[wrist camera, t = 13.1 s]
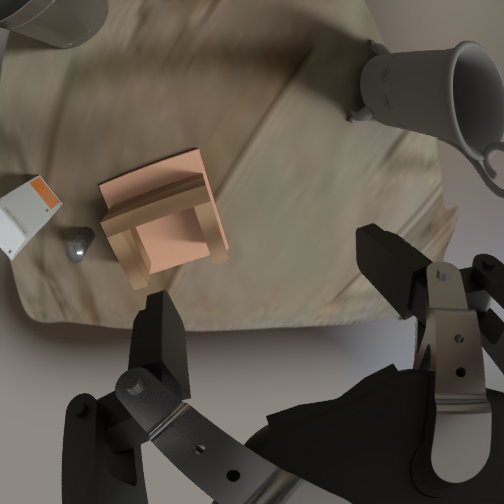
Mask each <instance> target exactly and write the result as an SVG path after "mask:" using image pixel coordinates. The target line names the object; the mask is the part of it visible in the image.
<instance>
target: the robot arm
mask: <svg viewBox="0 0 504 504" xmlns="http://www.w3.org/2000/svg"><path fill="white" fill-rule="evenodd" d="M107 13H108V4H107V0H0V28H4V29H7V30H10V31H14V32H17V33H20V34H23V35H25V36H28V37H31V38H34V39H37V40H39V41H42V42H45V43H47V44H50V45H52V46H55V47H58V48H62V49H67V48H72V47H76V46H78V45H81V44H82V43H84V42H86V41H87V40H89V39H90V38H91V37H92V36H94V35H95V33H96V32H97V31H98V30H99V29H100V28H101V26H102V25H103V23H104V21H105V19H106V16H107ZM356 259H357V264H358V267H359V270H360V271H361V273H362V274H363V275H364V276H365V277H366V278H367V279H368V280H369V281H370V282H371V283H372V285H373V286H374V287H375V288H376V289H377V290H378V291H379V292H380V293H381V294H382V295H383V297H384V298H385V299H386V300H387V301H388V302H389V303H390V304H391V305H392V307H393V308H394V309H395V310H396V311H397V312H398V313H399V314H400V316H401V317H402V318H403V319H404V320H406V319H408V318H410V317H412V316H413V315H414V316H415V317H416V318H417V319H416V324H415V328H416V329H415V354H414V364H413V369H406V370H400V371H398V370H397V369H396V367H395V366H394V364H391V365H389V366H387V367H386V368H383V369H381V370H379V371H377V372H375V373H373V374H371V375H369V376H367V377H365V378H364V379H363V380H361V381H360V382H359V383H358V384H356V385H355V386H354V387H352V388H351V389H350V390H349V391H347V392H346V393H344V394H343V395H342V396H340V397H339V398H337V399H334V400H328V401H322V402H316V403H309V404H302V405H298V406H295V407H292V408H289V409H286V410H283V411H280V412H277V413H274V414H271V415H268V416H266V418H267V421H268V425H267V426H265V427H263V428H262V429H260V430H259V431H258V432H256V433H255V434H254V435H253V436H252V437H251V438H249V440H248V441H247V442H246V443H245V444H244V445H243V444H241V443H240V442H238V441H237V440H235V439H234V438H232V437H231V436H230V435H228V434H227V433H225V432H224V431H222V430H221V429H220V428H218V427H217V426H216V425H215V424H213V423H212V422H211V421H209V420H208V419H207V418H205V417H204V416H203V415H202V414H200V413H199V412H198V411H197V410H195V409H194V408H193V407H192V406H190V405H189V404H187V403H184V402H182V400H185V399H190V398H191V394H190V385H189V374H188V364H187V352H186V339H185V329H184V325H183V322H182V320H181V317H180V315H179V314H178V312H177V310H176V308H175V306H174V304H173V302H172V300H171V298H170V296H169V294H168V293H167V291H166V290H163V291H160V292H157V293H153V294H150V295H148V296H147V301H146V309H144V310H141V311H139V313H138V315H137V316H136V318H135V320H134V323H133V330H132V331H133V333H132V338H131V339H132V341H131V346H130V355H129V365H128V371H126V372H124V373H123V374H122V375H121V376H120V378H119V379H118V381H117V383H116V386H115V391H113V392H112V393H109V394H108V395H106V396H104V397H102V398H100V399H98V400H96V399H95V398H94V397H93V396H92V395H90V394H87V393H83V394H79V395H77V396H76V397H74V398H73V399H72V400H71V402H70V403H69V405H68V407H67V410H66V417H65V427H64V436H63V452H62V504H148V499H147V493H146V487H145V480H144V472H143V464H142V455H141V444H143V443H145V442H147V441H149V440H151V441H152V443H153V444H154V445H155V446H156V447H157V448H158V449H159V450H160V451H161V452H162V453H163V454H164V455H165V456H166V457H167V458H168V459H169V460H170V461H171V462H172V463H173V464H174V465H175V466H176V467H177V468H178V469H179V470H180V471H181V472H182V473H183V474H184V475H186V476H187V477H188V478H189V479H190V480H191V481H192V482H193V483H195V484H196V485H197V486H198V487H199V488H200V489H201V490H203V491H204V492H205V493H206V494H207V495H209V496H210V497H211V498H212V499H214V501H213V502H212V504H504V393H503V392H500V391H496V390H492V389H488V388H486V386H485V371H484V360H483V351H482V347H483V348H484V350H485V351H486V352H487V353H488V354H489V356H490V357H491V358H492V360H493V361H494V362H495V364H496V365H497V366H498V367H499V369H500V370H501V372H502V373H503V374H504V322H503V321H502V320H501V319H500V318H499V317H498V316H497V315H496V313H495V312H493V310H492V309H491V308H490V304H491V302H492V299H494V300H495V301H496V302H497V303H499V305H500V306H501V307H502V308H503V309H504V264H503V263H502V262H500V261H499V260H498V259H496V258H495V257H493V256H491V255H488V254H479V255H477V256H475V257H474V259H473V263H472V267H469V268H464V269H458V268H457V267H456V266H454V265H453V264H451V263H448V262H444V261H437V262H432V261H431V260H430V259H428V258H427V257H426V256H425V255H423V254H422V253H421V252H419V251H418V250H417V249H416V248H414V247H412V246H411V245H410V244H409V243H408V242H405V240H404V239H402V238H401V237H400V236H398V235H397V234H394V233H391V232H389V231H384V230H382V229H381V228H380V227H378V226H377V225H376V224H374V223H372V224H369V225H366V226H363V227H360V228H357V230H356Z"/></svg>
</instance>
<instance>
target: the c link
mask: <svg viewBox="0 0 504 504" xmlns="http://www.w3.org/2000/svg"><path fill="white" fill-rule="evenodd" d="M192 207H194V209H195V212H196V215H197V218H198V221H199V224H200V227H201V230H202V233H203V236H204V238H205V241H206V244H207V247H208V250H209V253H210V255H211V258H212V261H213V264H214V265H216V264H219V263H222V262H225V261H228V260H229V257H228V254H227V251H226V248H225V244H224V241H223V238H222V235H221V231H220V228H219V225H218V222H217V219H216V216H215V212H214V209H213V206H212V203H211V199H210V196H209V193H208V190H207V186H206V183H205V180H204V177H203V173H201V174H198V175H195V176H192V177H189V178H186V179H183V180H180V181H177V182H174V183H171V184H168V185H165V186H162V187H159V188H157V189H154V190H151V191H148V192H146V193H143V194H140V195H138V196H135V197H132V198H130V199H127V200H125V201H122V202H120V203H117V204H115V205H112V206H111V207H110V209H109V210H108V212H107V213H106V215H105V216H104V218H103V219H102V221H101V223H100V224H101V226H102V228H103V230H104V232H105V234H106V236H107V239H108V241H109V243H110V245H111V247H112V249H113V251H114V253H115V255H116V257H117V259H118V261H119V263H120V265H121V267H122V269H123V270H124V272H125V274H126V276H127V278H128V280H129V282H130V283H131V285H132V287H133V289H134V290H138V289H141V288H144V287H147V286H148V282H149V275H150V268H151V261H150V258H149V256H148V254H147V252H146V250H145V248H144V245H143V243H142V241H141V239H140V236H139V234H138V232H137V230H136V227H137V226H140V225H142V224H145V223H148V222H151V221H154V220H156V219H159V218H162V217H165V216H168V215H171V214H174V213H177V212H180V211H183V210H186V209H189V208H192Z"/></svg>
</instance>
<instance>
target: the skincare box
mask: <svg viewBox="0 0 504 504" xmlns="http://www.w3.org/2000/svg"><path fill="white" fill-rule="evenodd" d="M62 204H63V203H62V202H61V201H60V200H59V199H58V197H57V196H56V195H55V194H54V193H53V191H52V190H51V189H50V188H49V186H48V185H47V184H46V183H45V181H44V180H43V179H42V177H41V176H40V175H38V176H37V177H35V178H33V179H31V180H30V181H28V182H26V183H24V184H23V185H21V186H19V187H18V188H16V189H14V190H13V191H11V192H9V193H8V194H6V195H5V196H3V197H1V198H0V248H1V249H2V250H3V251H4V252H5V253H6V254H7V256H8V257H9V258H10V259H11V260H13V259H14V257H15V256H16V255H17V254H18V253H19V251H20V250H21V249H22V248H23V247H24V246H25V245H26V244H27V243H28V242H29V241H30V240H31V238H32V237H33V236H34V235H35V234H36V233H37V232H38V231H39V230H40V229H41V228H42V227H43V226H44V225H45V224H46V223H47V222H48V221H49V220H50V218H51V217H52V216H53V215H54V214H55V213H56V211H57V210H58V209H59V208H60V207H61V205H62Z"/></svg>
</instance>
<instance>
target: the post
mask: <svg viewBox="0 0 504 504" xmlns="http://www.w3.org/2000/svg"><path fill="white" fill-rule="evenodd" d="M93 239H94V232H93V230H92V229H90V228H88V227H84V228H82V229H81V231H80V232H79V233H78V235H77V236H76V238H75V239H74V241H73V242H72V244H71V245H70V246H69V248H68V249H67V252H66V254H67V257H68V259H69V260H70V261H71V262H73V263H79V262H81V260H82V259H83V257H84V255H85V253H86V251H87V250H88V248H89V246H90V244H91V243H92V241H93Z"/></svg>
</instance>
